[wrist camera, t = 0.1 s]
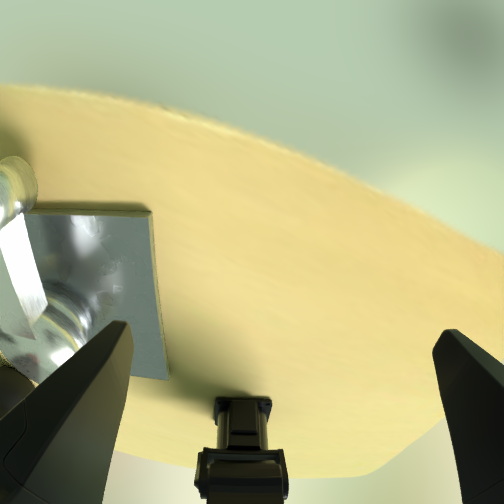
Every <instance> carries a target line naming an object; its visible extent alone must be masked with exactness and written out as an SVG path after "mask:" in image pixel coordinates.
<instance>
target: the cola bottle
mask: <svg viewBox="0 0 504 504" xmlns="http://www.w3.org/2000/svg"><path fill="white" fill-rule="evenodd" d="M34 389H35V388H34V386H33V385H32V383H31V382H30V381H29V380H28V379H27V378H26V377H25V376H23V375H22V374H21V373H19V372H18V371H16V370H14V369H12V368H9V367H5V366H1V367H0V419H1V418H2V417H4V416H5V415H6V414H7V413H8V412H9V411H10V410H12V409H13V408H14V407H15V406H16V405H17V404H18V403H19V402H20V401H21V400H24V398H25V397H26V396H27V395H28V394H29V393H30V392H31V391H33V390H34Z"/></svg>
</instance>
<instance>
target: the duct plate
mask: <svg viewBox="0 0 504 504" xmlns="http://www.w3.org/2000/svg"><path fill="white" fill-rule="evenodd" d="M23 217H24V221H25V226H26V230H27V234H28V238H29V242H30V246H31V250H32V254H33V257H34V261H35V264H36V268H37V271H38V274H39V278H40V281H41V284H42V287H43V290H44V293H45V296H46V299H47V302H48V304H50V305H52V306H54V307H55V308H57V309H58V310H60V311H61V312H62V313H64V314H65V315H66V316H67V317H68V318H69V319H71V320H72V321H73V322H74V323H75V324H76V326H77V327H78V328H79V329H80V330H81V332H82V333H83V335H84V336H85V338H86V340H87V341H89V340H90V339H91V338H93V337H94V336H95V335H96V334H97V333H98V332H100V331H101V330H102V329H103V328H104V327H106V326H107V325H108V324H109V323H110V322H111V321H113V320H120V321H127V322H128V323H129V325H130V328H131V333H132V337H133V341H134V354H133V359H132V365H131V371H130V375H131V376H138V377H145V378H153V379H161V380H169V375H170V370H169V364H168V358H167V352H166V345H165V338H164V331H163V324H162V316H161V308H160V299H159V290H158V281H157V271H156V260H155V247H154V234H153V218H152V212H136V211H108V210H69V209H31V210H30V211H28V212H27V213H26V214H25V215H23Z"/></svg>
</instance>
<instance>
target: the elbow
mask: <svg viewBox="0 0 504 504" xmlns="http://www.w3.org/2000/svg"><path fill="white" fill-rule="evenodd" d="M37 196H38V184H37V179H36V176H35V174H34V171H33V170H32V168H31V166H30V165H29V164H28V163H27V162H26V161H25V160H24V159H22V158H21V157H18V156H8V157H6V158H4V159H2V160H0V350H1V352H2V353H3V354H4V356H5V357H6V358H7V359H8V361H9V362H10V363H11V364H12V365H13V366H14V367H15V368H16V369H18V370H19V371H20V372H21V373H22V374H24V375H25V376H27V377H28V378H30V379H31V380H33V381H35V382H36V383H38V384H40V383H41V382H42V381H44V380H45V379H46V378H47V377H48V376H49V375H50V374H51V373H53V372H54V371H55V370H56V369H57V368H58V367H59V366H60V365H62V364H63V363H64V362H65V361H66V360H67V359H68V358H70V357H71V356H72V355H73V354H74V353H75V352H76V351H78V350H79V349H80V348H81V347H82V346H83V345H85V344H86V343H87V342H88V341H87V340H86V338H85V336H84V335H83V333H82V332H81V330H80V329H79V328H78V327H77V326H76V324H75V323H74V322H73V321H72V320H71V319H69V318H68V317H67V316H66V315H65V314H64V313H62V312H61V311H60V310H58V309H57V308H55V307H54V306H52V305H50V304H48V302H47V299H46V296H45V293H44V290H43V287H42V284H41V281H40V278H39V274H38V271H37V268H36V264H35V261H34V257H33V254H32V250H31V246H30V242H29V238H28V234H27V230H26V226H25V221H24V217H23V215H25V214H26V213H27V212H28V211H30V210H31V209H32V208H33V206H34V205H35V203H36V200H37Z"/></svg>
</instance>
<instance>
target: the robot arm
mask: <svg viewBox="0 0 504 504" xmlns="http://www.w3.org/2000/svg"><path fill="white" fill-rule="evenodd" d="M133 354H134V341H133V337H132V333H131V328H130V325H129V323H128V322H127V321H120V320H113V321H111V322H110V323H109V324H108V325H107V326H106V327H104V328H103V329H102V330H101V331H100V332H98V333H97V334H96V335H95V336H94V337H93V338H91V339H90V340H89V341H88V342H87V343H86V344H85V345H83V346H82V347H81V348H80V349H79V350H78V351H76V352H75V353H74V354H73V355H72V356H71V357H70V358H68V359H67V360H66V361H65V362H64V363H63V364H62V365H60V366H59V367H58V368H57V369H56V370H55V371H54V372H53V373H51V374H50V375H49V376H48V377H47V378H46V379H45V380H44V381H42V382H41V383H40V384H39V385H38V386H37V387H36V388H35V389H34V390H33V391H31V392H30V393H29V394H28V395H27V396H26V397H25V398H24V400H21V401H20V402H19V403H18V404H17V405H16V406H15V407H14V408H13V409H12V410H10V411H9V412H8V413H7V414H6V415H5V416H4V417H2V418H1V419H0V504H102V501H103V495H104V491H105V485H106V481H107V476H108V471H109V467H110V462H111V458H112V454H113V450H114V446H115V441H116V437H117V433H118V429H119V425H120V421H121V418H122V414H123V410H124V406H125V402H126V397H127V391H128V384H129V377H130V371H131V365H132V359H133ZM432 356H433V361H434V365H435V370H436V375H437V380H438V386H439V391H440V396H441V400H442V404H443V408H444V412H445V416H446V420H447V423H448V428H449V432H450V436H451V441H452V445H453V450H454V455H455V460H456V465H457V471H458V477H459V482H460V489H461V496H462V503H463V504H504V365H503V364H502V363H500V362H499V361H498V360H497V359H495V358H494V357H493V356H491V355H490V354H489V353H487V352H486V351H485V350H484V349H482V348H481V347H480V346H478V345H477V344H476V343H474V342H473V341H472V340H470V339H469V338H468V337H466V336H465V335H463V334H462V333H461V332H459V331H458V330H457V329H446V330H444V331H443V332H442V334H441V335H440V337H439V339H438V341H437V342H436V344H435V346H434V348H433V351H432ZM271 408H272V400H270V399H236V398H216V399H215V425H217V426H218V429H217V449H213V448H208V447H204V448H203V451H202V452H199V453H198V461H197V469H196V474H195V480H194V486H195V487H196V488H197V489H198V490H199V493H200V497H201V499H207V504H284V500H286V499H287V497H288V491H289V482H288V473H287V468H286V462H285V457H284V451H283V449H278V450H268V438H267V422H268V419H269V415H270V411H271Z"/></svg>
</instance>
